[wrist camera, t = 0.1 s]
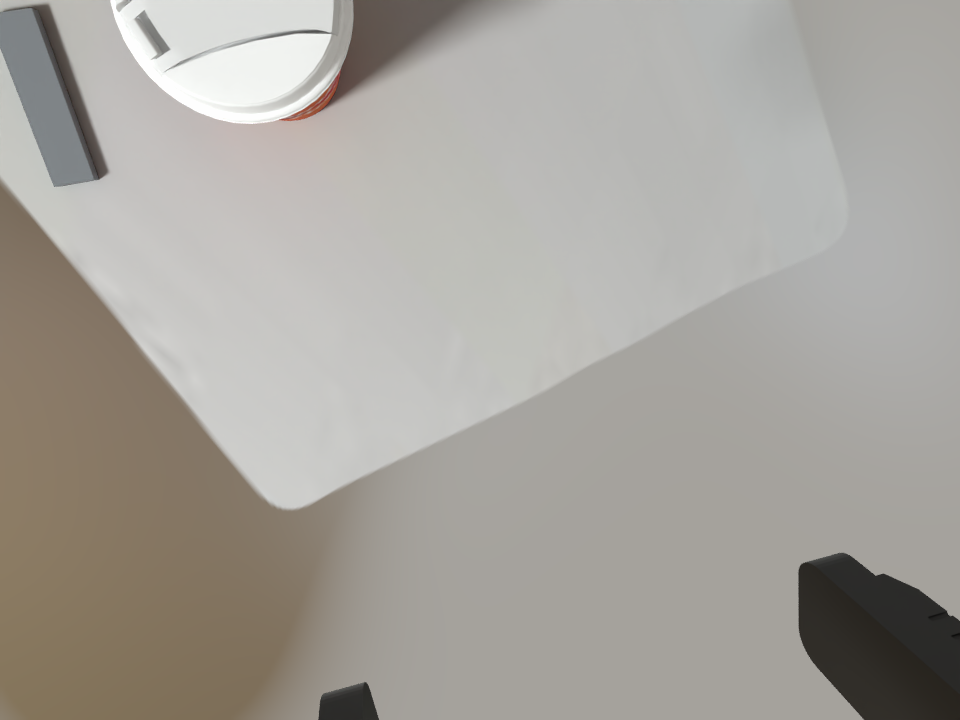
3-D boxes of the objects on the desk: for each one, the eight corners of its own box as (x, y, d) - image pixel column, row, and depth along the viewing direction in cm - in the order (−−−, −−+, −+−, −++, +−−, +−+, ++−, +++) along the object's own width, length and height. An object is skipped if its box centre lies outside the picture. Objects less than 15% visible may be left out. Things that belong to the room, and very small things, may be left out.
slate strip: (-6, 17, 29) (-13, 14, 29) (37, 10, 29) (31, 7, 29) (59, 186, 32) (53, 186, 31) (98, 179, 32) (94, 179, 31)
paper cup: (267, 168, 33) (199, 164, 20) (176, 29, 31) (29, -79, 18) (389, 95, 33) (401, 43, 20) (308, -50, 31) (261, -219, 17)
